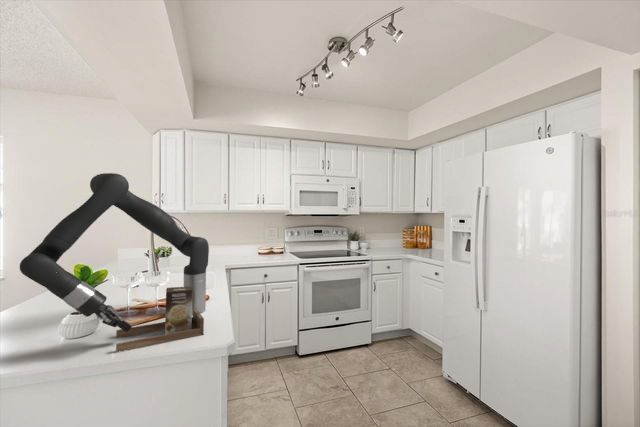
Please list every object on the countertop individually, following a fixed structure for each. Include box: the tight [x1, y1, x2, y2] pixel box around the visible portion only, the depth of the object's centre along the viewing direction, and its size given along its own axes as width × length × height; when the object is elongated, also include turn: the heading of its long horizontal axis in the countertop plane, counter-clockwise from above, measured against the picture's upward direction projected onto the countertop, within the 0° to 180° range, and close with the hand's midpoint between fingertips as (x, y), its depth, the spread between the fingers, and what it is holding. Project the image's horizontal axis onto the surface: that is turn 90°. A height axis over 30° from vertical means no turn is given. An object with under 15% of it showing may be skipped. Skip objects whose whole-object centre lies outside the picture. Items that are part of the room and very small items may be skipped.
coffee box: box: [164, 286, 193, 334], centre depth 115 cm, size 9×6×16 cm
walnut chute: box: [115, 308, 205, 353], centre depth 110 cm, size 14×27×6 cm, turn 123°
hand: (129, 328), depth 105 cm, fingers closed
